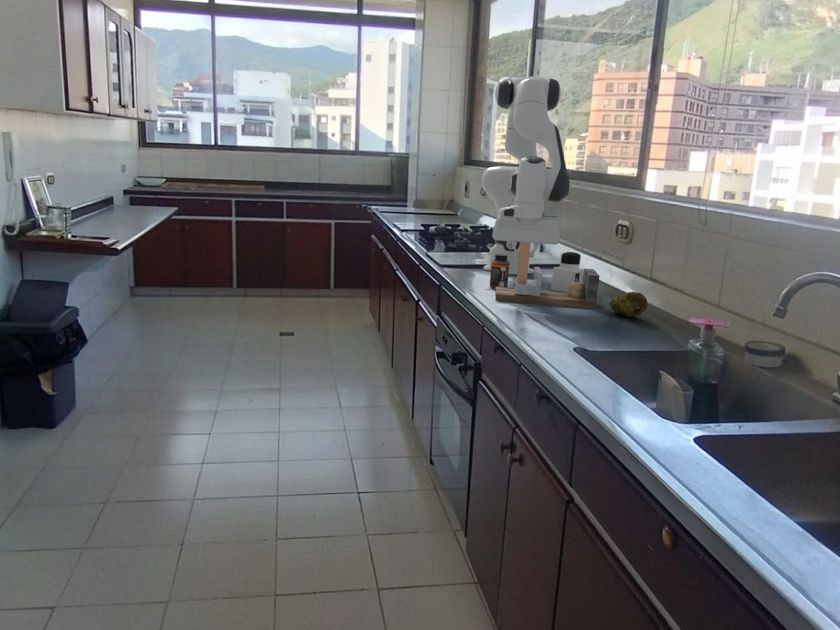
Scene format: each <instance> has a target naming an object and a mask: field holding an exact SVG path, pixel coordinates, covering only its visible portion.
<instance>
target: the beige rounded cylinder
mask: <svg viewBox="0 0 840 630" xmlns="http://www.w3.org/2000/svg"><path fill="white" fill-rule="evenodd" d="M583 290H584V284H582V283H575V282H572V283H570V284H569V293H568V296H569V297H572V298H583Z"/></svg>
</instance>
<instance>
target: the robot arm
mask: <svg viewBox="0 0 840 630" xmlns="http://www.w3.org/2000/svg"><path fill="white" fill-rule="evenodd" d="M494 90H495V91H494V97H495V100H496V104H497V105H498V107H500V108H501V109H505V110H508V109H509V111H508V116H507V122H506V128H505V129H506V130H505V131H506V132H505V143H504V149H505V151H506V153H507V154H508V155H510V156H511V157H512V158H514V159H516V160H518V161H519V165H518V166H506V165H504V166H503V165H499V166H491V167H488V168H486V169H485V170H484V172H483V174H482V176H481V187H482V190H483V191H484V192H485V193H486V195H488V196H489V198H491V200H492V201H493V203H494V206H495V208H496V212H497V218H496V219H495V221H494V225H493V229H492V230H493V231H492V238H493V240H494V242H495V244H494V245H493V246H492V247H491V248H490V250H489V253H488V257H489V259H488V264H486V265H484V266H483V270H485V271H490V272H491V264H492V261H493V260H495V254H506V255H507V261H508V262H509V264H510V265H509V275H517V270H518V259H519V253H520V251H519V249H520V242H528V243H531V244H533V249H532V250H530V254H529V259H530V258H531V259H534V257H535V252H536V251H537V250H538V248H539V245H540V244H541V245H542V244H543V245H556V246H557V245H558V244H559V243H560V236H561V235H560V229H561V227H562V225H563V217H562V216H561V215H559V214H558V213H550V212H544V208H545V206H544V205H545V201H548V202H554V203H560V202H561V201H563V200H564V199H566V197H568V196H569V194H570V189H571V188H570V187H571V181H570V175H569V173H568V169H567V165H566V161H565V155H564V154H565V153H564V149H563V144H562V139H561V135H560V131H559V128H558V126H557V125H556V124H555V123H553V122H552V120H551V119H550V117H549V113H548V112H549V111H553V110H554V109H556V107H558V104H559V102H560V101H561V95H562V90H561V87H560V83H559V81H558V80H556V79H554V78H551V77H539V76H513V77H511V76H505V77H502V78H500V79H499V81H498V83H497V85H496V87H495V89H494ZM537 144H539V145H540V146H542V147H543V148H545V149H546V151H547V152H548V158H549V163H550V168H547V161H546V159H545V158H544V157H543V158H542V157H539V156H538V153H537ZM513 199H514V200H513ZM528 274H534V270H533V269H531V268H530V263H529V264H528Z"/></svg>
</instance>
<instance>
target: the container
mask: <svg viewBox="0 0 840 630" xmlns="http://www.w3.org/2000/svg"><path fill="white" fill-rule="evenodd" d="M581 257H582V256H581V254H580V253H578V252H574V251H563V252H561V253H560V258H559V266H554V267H553V268H552V278H551V286H550V287H551V288H550V289H551V290H550V291H559V292H569V284H570V283H572V282H575V283H582V282H583V274H584V269H585V268H580V265H581Z"/></svg>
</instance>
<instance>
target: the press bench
mask: <svg viewBox="0 0 840 630" xmlns="http://www.w3.org/2000/svg"><path fill="white" fill-rule="evenodd" d="M583 269H584V274H583V282H582V284H584V290H583V298H572V297H569V296H568V293H569V292H560V291H555V290H545V289H544V290H542V289H541V291H540V297H538V296H534V295H522V294H515V293H514V287H510V286H509V287H508V286H507V287H496V289H495V292H494V293H495V301H496V300H498V302H500V301H501V302H510V303H511V302H512V303H523V304H532V305H533V304H534V305H544V306H545V305H546V306H547V305H548V306H558V307H571V308H585V309H595V310H596V309H597V308H596V306H597V301H598V291H599V285H600V274H598V273H597V271H596V270H595V269H593V268H583Z"/></svg>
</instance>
